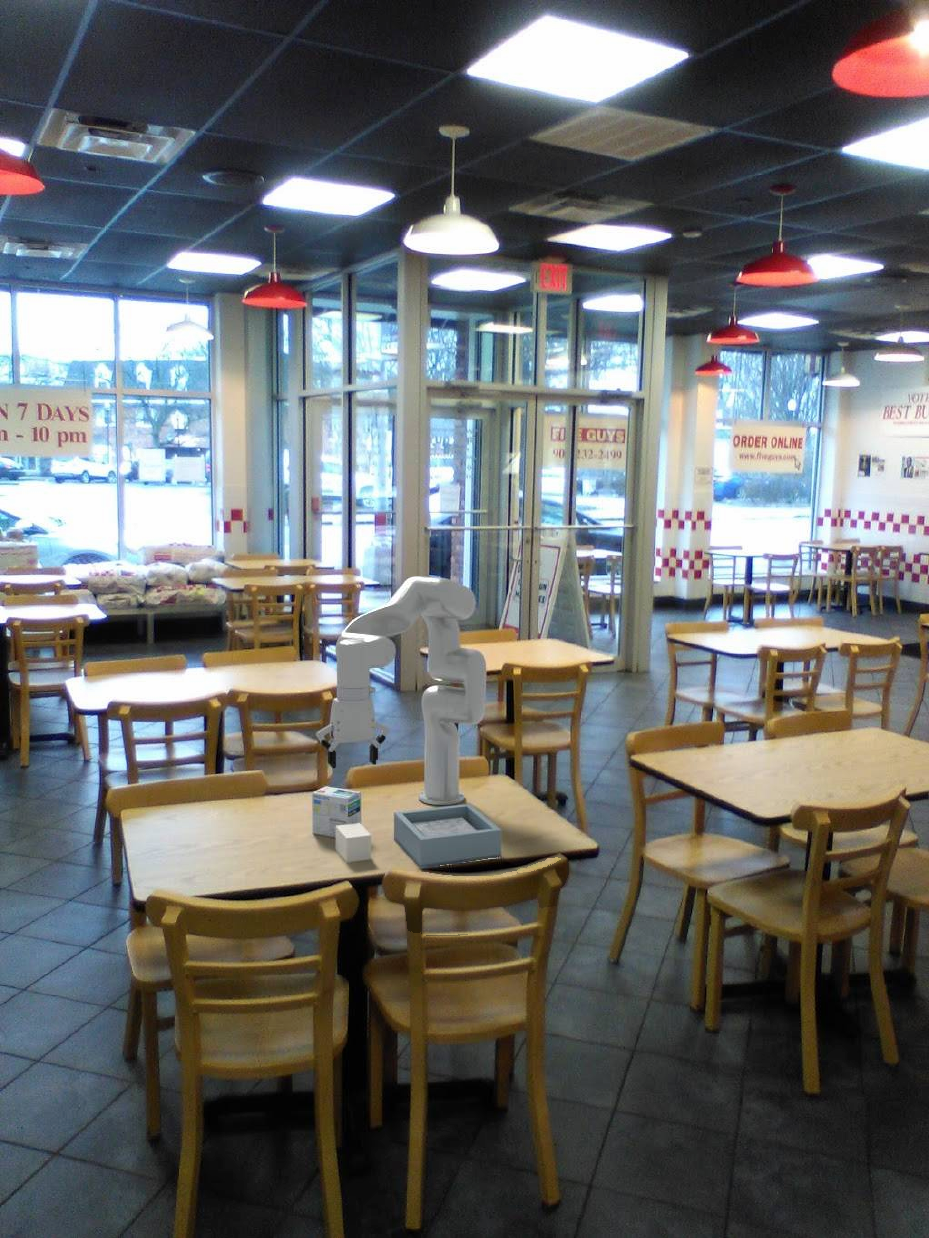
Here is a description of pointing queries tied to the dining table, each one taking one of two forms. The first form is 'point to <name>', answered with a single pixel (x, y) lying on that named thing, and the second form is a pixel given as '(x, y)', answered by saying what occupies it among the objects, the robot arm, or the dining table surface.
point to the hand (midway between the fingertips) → (352, 764)
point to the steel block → (443, 827)
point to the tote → (447, 837)
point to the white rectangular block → (353, 842)
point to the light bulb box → (334, 809)
